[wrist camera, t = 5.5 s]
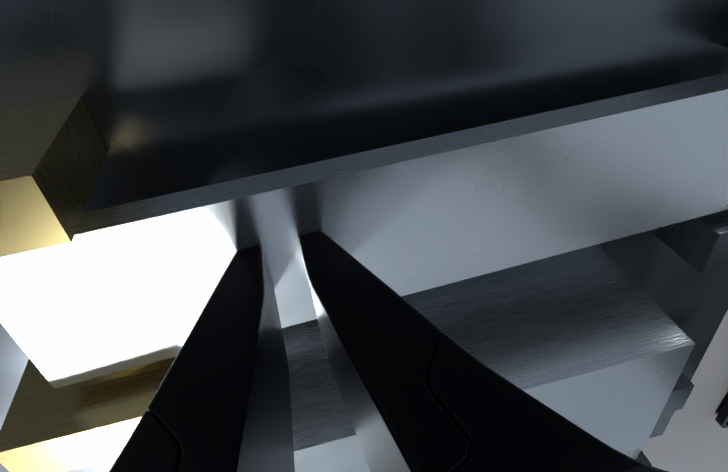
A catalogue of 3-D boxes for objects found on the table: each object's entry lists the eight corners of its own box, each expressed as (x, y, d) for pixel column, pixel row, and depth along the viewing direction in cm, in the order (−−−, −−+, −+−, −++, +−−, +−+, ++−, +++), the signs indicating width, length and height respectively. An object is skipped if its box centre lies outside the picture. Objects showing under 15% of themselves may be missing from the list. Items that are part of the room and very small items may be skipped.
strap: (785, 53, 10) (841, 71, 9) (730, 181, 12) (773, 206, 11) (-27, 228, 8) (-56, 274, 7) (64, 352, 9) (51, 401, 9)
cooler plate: (851, -148, 10) (1251, -160, 6) (631, 393, 22) (720, 508, 18) (-382, 24, 7) (-1052, 197, 4) (120, 535, 19) (94, 705, 15)
